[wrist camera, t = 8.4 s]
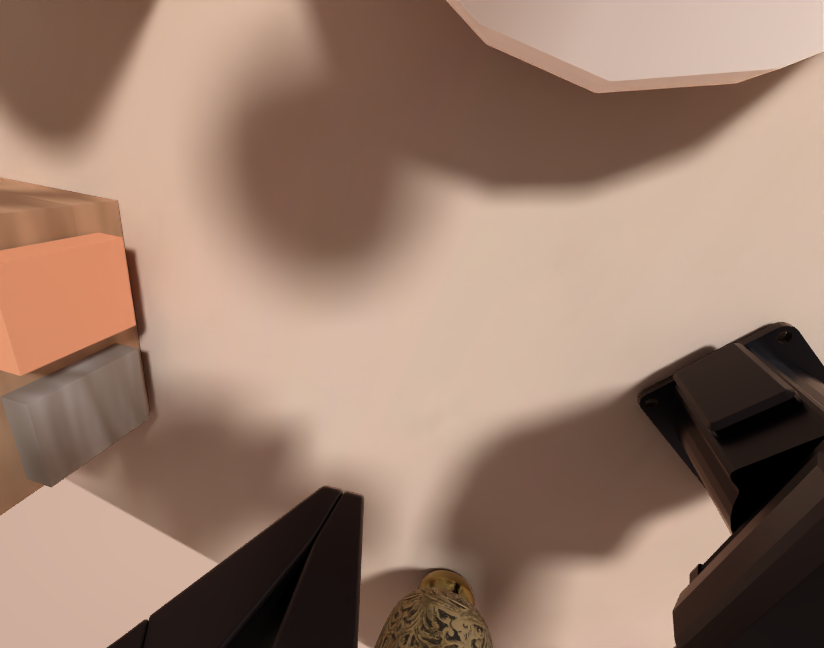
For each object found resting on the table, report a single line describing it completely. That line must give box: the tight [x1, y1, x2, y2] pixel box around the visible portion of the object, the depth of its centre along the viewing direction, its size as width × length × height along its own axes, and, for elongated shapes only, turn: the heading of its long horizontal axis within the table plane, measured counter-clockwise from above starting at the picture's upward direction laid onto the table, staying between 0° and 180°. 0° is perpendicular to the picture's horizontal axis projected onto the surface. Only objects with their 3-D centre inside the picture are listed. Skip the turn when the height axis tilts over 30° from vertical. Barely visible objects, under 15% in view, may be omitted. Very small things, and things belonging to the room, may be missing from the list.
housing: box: [0, 178, 150, 515], centre depth 22 cm, size 10×14×10 cm
